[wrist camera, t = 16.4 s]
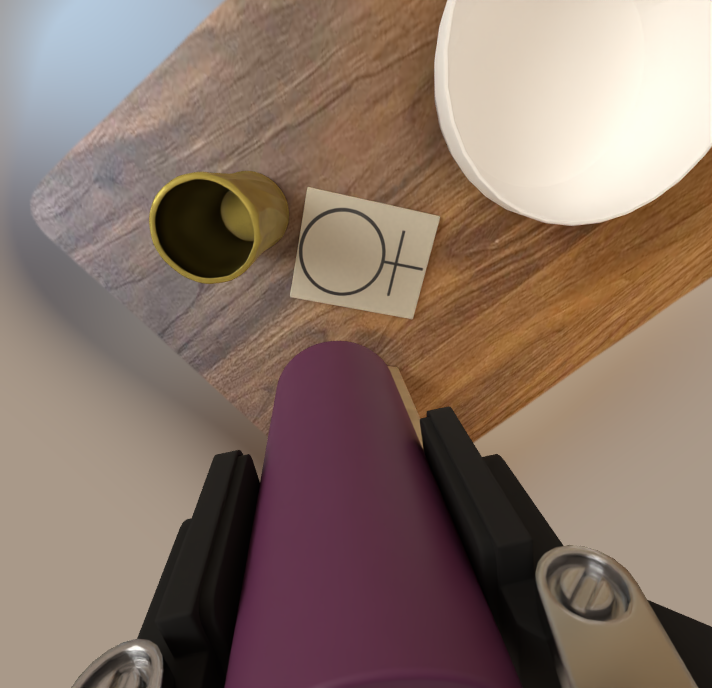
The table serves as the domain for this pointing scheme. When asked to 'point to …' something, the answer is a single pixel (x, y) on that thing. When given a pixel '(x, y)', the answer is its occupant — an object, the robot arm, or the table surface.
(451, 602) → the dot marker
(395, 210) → the sketch card
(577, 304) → the table surface
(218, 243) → the vase
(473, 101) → the bowl
